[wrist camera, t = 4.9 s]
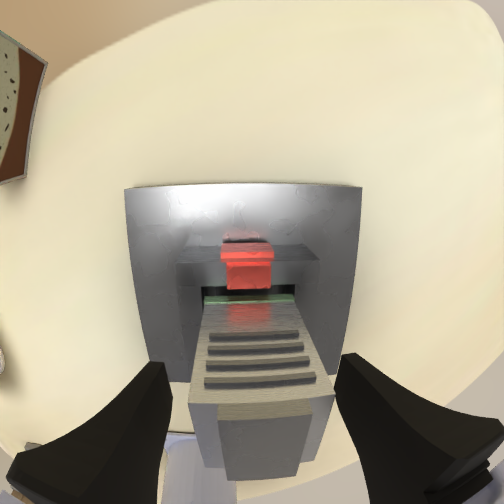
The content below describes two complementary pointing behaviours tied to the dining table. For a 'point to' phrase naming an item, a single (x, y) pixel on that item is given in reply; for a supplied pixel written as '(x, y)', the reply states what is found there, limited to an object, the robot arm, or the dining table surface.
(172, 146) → the dining table surface
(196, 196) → the base
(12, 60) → the food container
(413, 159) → the dining table surface
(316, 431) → the block
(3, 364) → the decorative vase
